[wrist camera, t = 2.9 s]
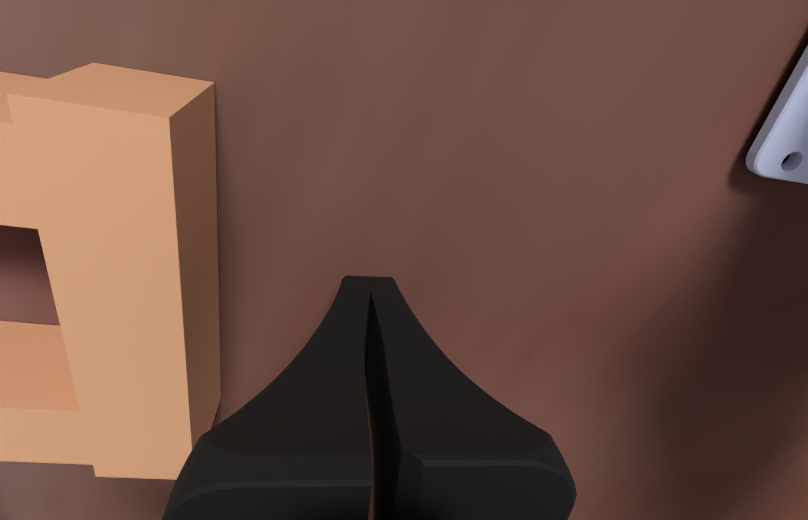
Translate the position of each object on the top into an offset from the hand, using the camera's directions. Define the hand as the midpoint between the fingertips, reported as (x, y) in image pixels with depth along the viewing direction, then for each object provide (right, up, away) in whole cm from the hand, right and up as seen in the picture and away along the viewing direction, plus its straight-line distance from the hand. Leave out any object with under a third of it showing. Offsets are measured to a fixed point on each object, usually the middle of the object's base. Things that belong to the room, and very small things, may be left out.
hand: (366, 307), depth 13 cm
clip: (-8, +1, 0) cm, 8 cm away
